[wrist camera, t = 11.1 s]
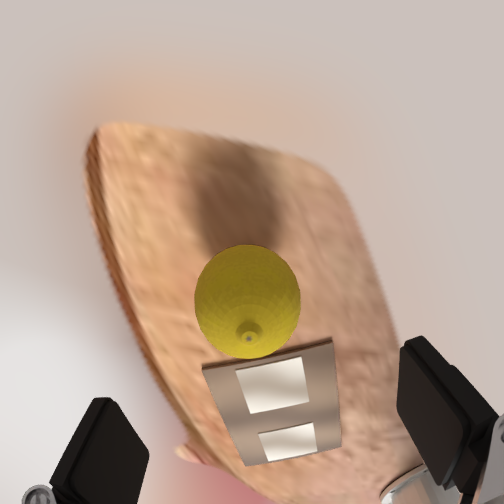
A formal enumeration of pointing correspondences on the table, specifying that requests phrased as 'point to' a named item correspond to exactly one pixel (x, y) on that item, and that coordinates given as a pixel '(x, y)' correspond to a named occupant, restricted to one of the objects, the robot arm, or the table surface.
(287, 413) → the label board
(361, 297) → the table surface
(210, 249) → the table surface
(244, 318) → the lemon
